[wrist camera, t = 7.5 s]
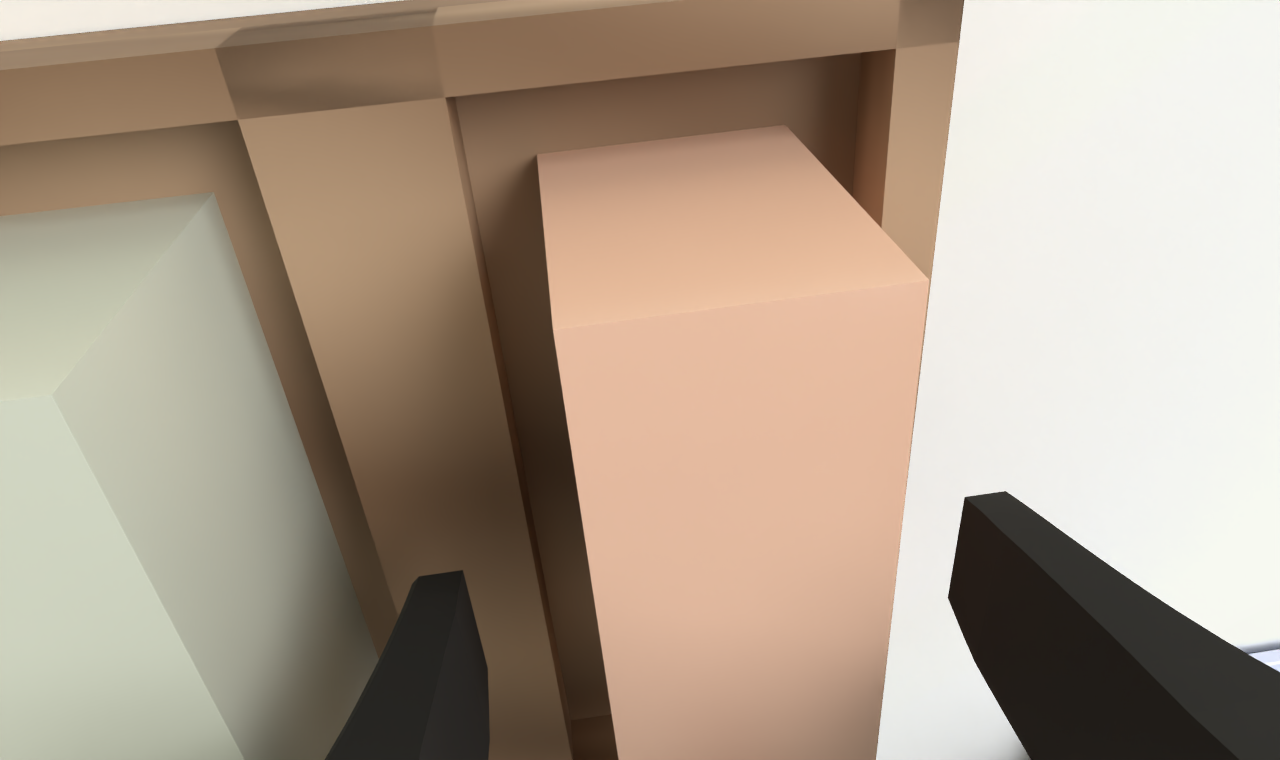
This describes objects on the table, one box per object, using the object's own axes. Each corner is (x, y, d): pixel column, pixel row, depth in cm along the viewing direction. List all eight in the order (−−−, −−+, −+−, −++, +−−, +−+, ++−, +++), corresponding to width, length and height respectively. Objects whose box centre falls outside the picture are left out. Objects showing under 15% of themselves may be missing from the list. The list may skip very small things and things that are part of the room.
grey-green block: (396, 709, 18) (363, 983, 14) (219, 737, 18) (130, 1023, 13) (213, 191, 12) (52, 395, 8) (-60, 222, 12) (-381, 449, 7)
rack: (844, 669, 20) (875, 746, 18) (176, 774, 19) (145, 866, 17) (903, -51, 12) (967, -29, 10) (-254, 66, 11) (-391, 110, 9)
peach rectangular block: (779, 649, 18) (860, 895, 14) (612, 675, 18) (645, 933, 14) (785, 124, 12) (929, 280, 8) (536, 154, 12) (553, 329, 8)
